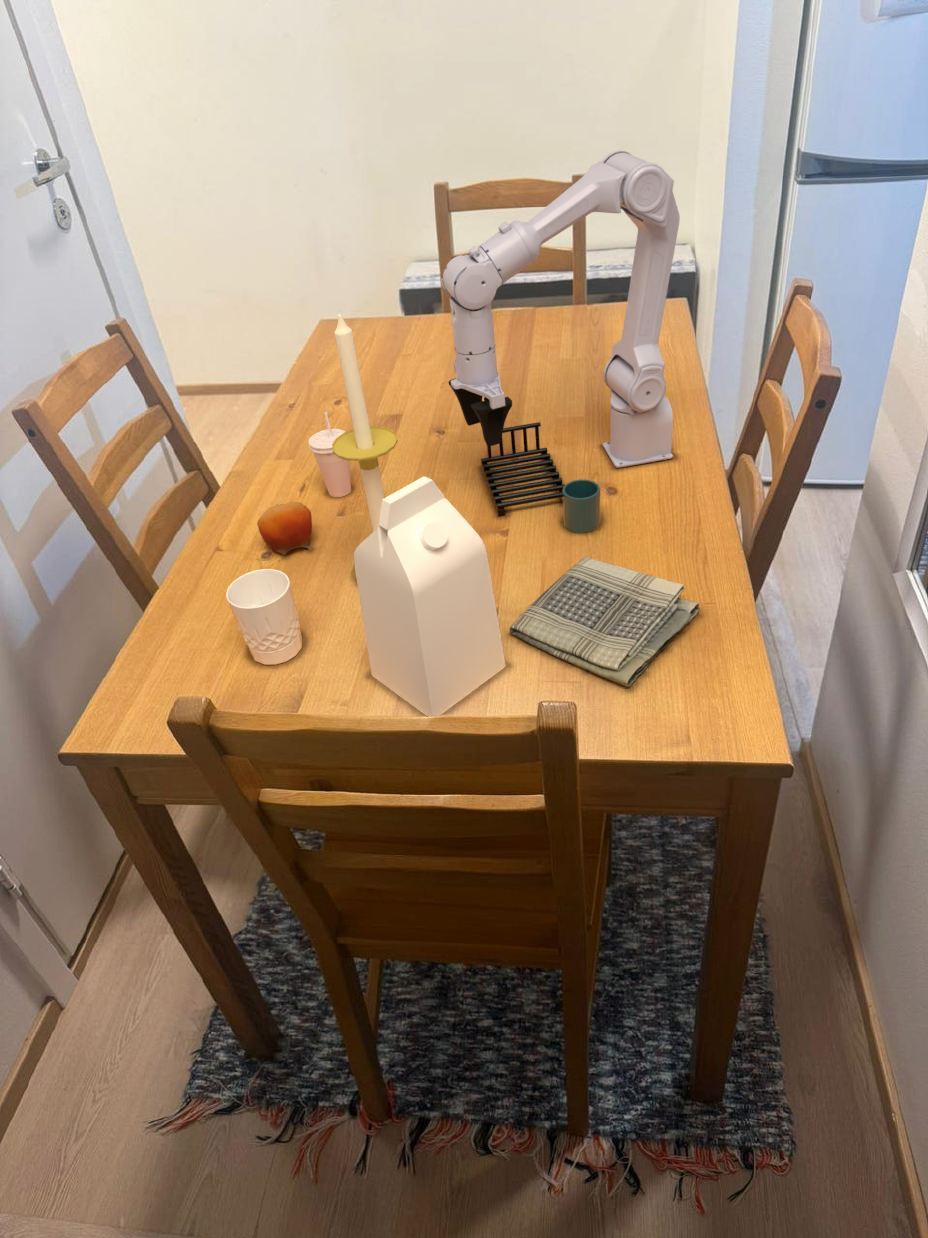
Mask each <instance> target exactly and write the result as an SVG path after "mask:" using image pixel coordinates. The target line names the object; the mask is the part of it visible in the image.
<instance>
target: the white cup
mask: <svg viewBox="0 0 928 1238" xmlns="http://www.w3.org/2000/svg"><path fill="white" fill-rule="evenodd" d="M225 597H226V600H227V603H228V605H229V607H230V609H231V612H232V614H233V617H234V619H235V622H236V624H237V627H238V629H239V631H240V634H241V635H242V638H243V640H244V642H245V644H246V645H247V647H248V650H249V652H250V655H251V657H252V658H253V659H254V662H258V664H262V665H264V666H265V665H267V666H273V665H274V666H276V665H280V664H282V663H283V664H284V663H286V662H288V661H290V660H291V659H293V658H295V657H296V656H297V655H298V654H299V652H300V651H301V650H302V648H303V637H302V632H301V629H300V627H301V625H300V621H299V616H298V610H297V606H296V602H295V598H294V594H293V590H292V584H291V580H290V578H289V576H288V575H287V574H286V573H285V572H283V571H282V570H278V569H274V568H262V569H261V568H259V569H256V570H251V571H249V572H246V573H244V574H242V575H240V576H238V577H237V578H235V580H233V581H232V582H231V583H230V584H229V585H228V587H227V589H226V593H225Z"/></svg>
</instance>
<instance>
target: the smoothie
mask: <svg viewBox="0 0 928 1238" xmlns="http://www.w3.org/2000/svg"><path fill="white" fill-rule="evenodd" d="M323 415H324V419H325V424H326V429H323V430H320V431H317V432H316V433H313V435H311V436H310V437H309V439H308V441H307V442H308V447H309V450H310V451H311V452H312V454H313V456H314V459H315V460H316V464H317V466H318V469H319V472H320V474H321V477H322V479H323V482H324V484H325V487H326V489H327V492H328V495H329V496H330V497H333V498H341V497H346V496H347V495H349V494H350V493H351V492H352V481H351V480H352V479H351V467H350V461H349V460H345V459H342V458H339V457H338V456H337V455H336V454H334V453H333V449H332V444H333V442H334V441H335V439H336V438H337V437H339V436H340V435H342V434H343V433H345V432H346V431H345V430H344V429H340V428H332V426H331V421H330V417H329V412H328V411H325V412H324V413H323Z"/></svg>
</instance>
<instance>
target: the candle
mask: <svg viewBox="0 0 928 1238" xmlns="http://www.w3.org/2000/svg"><path fill="white" fill-rule="evenodd" d="M337 311H338V314H337V325H336V329H335V330H334V332H333V334H334V339H335V344H336V348H337V354H338V359H339V364H340V369H341V373H342V378H343V384H344V388H345V393H346V399H347V403H348V408H349V412H350V418H351V423H352V429H350V430H347V431H345V433H343V434H342V435H340V436H339V437H337V438H336V439H335V441H334V442H333V444H332V449H333V453H334V454H336V455H337V456H338V457H339V458H342V459H345V460H349V462H350V461H351V462H358V465H359V470H360V474H361V475H360V476H361V479H362V484H363V488H364V494H365V495H364V496H365V498H366V504H367V509H368V515H369V518H370V524H371V529H372V533H373V532H374V531H375V530H376V529H377V528H378V527H379V520H380V512H381V504H382V499H384V498H386V497H385V492H384V486H383V481H382V475H381V470H380V465H379V459H378V458H380V457H382V456H385V455H387V454H388V453H390V452H391V451H392V450H393V449H395V447H396V446H397V444H398V436H397V433H396V432H395V431H394V430H392V429H391V428H389V427H386V426H385V427H384V426H381V425H370V419H369V415H368V408H367V403H366V397H365V393H364V388H363V383H362V382H363V381H362V377H361V371H360V366H359V361H358V355H357V350H356V345H355V340H354V336H353V335H354V333H353V329H352V328H351V327H349V325H348V324H347V323H346V321H345V319H344V317H343V314H341V312H340V309H338V310H337ZM354 576H355V580H356V581H357V578H356V571H355V570H354Z"/></svg>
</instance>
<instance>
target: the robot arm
mask: <svg viewBox="0 0 928 1238" xmlns="http://www.w3.org/2000/svg"><path fill="white" fill-rule="evenodd" d="M674 185H675V180H674V179H673V178H672V177H671V176H670V175H669V173H668V172H667V171H666V170H665V169H664V168H663V167H662V166H661V165H659V164H657V163H655V162H650V161H647V160H645V159H642V158H639V157H637V156H635V155H633V154H631V153H630V152H629V151H625V150H616V151H612V152H611V153H609V154H607V155H606V156H605V157H604V158H603V159H602V160H601V161H598V162H595V163H593V164H592V165H591V166H590V167H589V168H588V170H587V171H586V172H585V174H584V175H583V176H582V177H581V178H579V180H577V181H576V182H575V183H574V184H572V185H571V186H570V187H569V188H568V189H566V190H565V191H564V192H563V193H561V194H560V195H559V196H557V197H556V198H555V199H554V200H552V201H551V202H550V203H549V204H547V206H545V207H544V208H543V209H542V210H540V211H539V212H538V213H537V214H536V215H535V216H533V217H532V218H530V219H529V220H528V221H520V220H512V221H511V222H510V223H509V222H507V221H504V222H502V223H501V224H499V225H498V226H497V229H498V232H496V233H495V234H494V235H492V236H491V237H489V238H488V239H486V240H485V241H483V242H482V243H481V244H480V245H477V246H475V245H473V246H472V247H470V248H469V249H468V253H469V254H463V255H462V254H460V255H457V256H455V257H453V258H452V259H450V260H449V262H448V263H447V264H446V268H444V270H443V273H442V278H441V279H440V283H441V287H442V288H443V290H444V291H445V292H446V294H448V296H449V305H450V314H451V315H450V321H451V328H452V329H451V330H452V338H453V347H454V354H455V359H454V360H453V369H454V370H453V371H454V373H455V375H456V378H452V379H450V380H449V381H448V385H449V387H450V388H451V390H452V391H453V393H454V395H455V396H456V399H457V401H458V403H459V406H460V409H461V412H462V415H463V418H464V421H465V423H466V425H467V426H468V427H470V426H474V425H477V424H480V427H481V431H482V437H483V440H484V442H485V445H486V447H487V446H488V447H490V446H491V447H494V446H496V445H499V444H500V443H501V439H503V434H504V433H503V428H505V423H506V420H507V416H508V414H509V412H510V410H511V409H512V407H513V400H512V398H510V397H509V396H506V395H505V392H504V391H503V390H502V386H501V378H500V373H499V371H498V365H497V353H496V352H497V351H496V340H495V339H496V338H495V330H494V328H495V327H494V319H493V318H494V317H493V312H492V301H493V300H494V299H495V296H496V294H497V291H498V289H499V288H500V287H501V286H502V285H503V284H505V283H506V282H508V281H509V280H511V279H512V278H513V277H514V276H516V275H517V274H519V273H520V272H521V271H522V270H524V269H525V268H527V267H528V266H530V265H531V264H533V263H534V262H535V261H537V260H538V258H539V255H540V252H541V248H542V245H544V244H545V243H546V242H549V241H550V240H551V239H553V238H554V237H556V236H557V235H559V234H560V233H563V232H564V231H565V230H567V229H569V228H570V227H572V226H574V225H575V224H576V223H578V222H580V221H581V220H583V219H584V218H586V217H587V216H588V215H591V214H592V213H604V214H605V213H606V214H621V213H622V211H623V212H624V213H625V215H626V216H627V217H628V218H629V219H630V221H631V222H632V223H633V224H634V225H635V226H636V228H637V234H636V241H635V247H634V255H633V262H632V268H631V275H630V280H629V281H630V282H629V287H628V294H627V302H626V308H625V315H624V322H623V329H622V335H621V339H620V340H619V341H618V340H617V342H616V343H614V344H613V346H612V351H611V355H610V357H609V360H608V361H607V363H606V365H605V366H604V368H603V381H604V383H605V385H606V386H607V388H609V389H610V400H609V401H610V421H609V422H610V423H609V424H610V428H609V429H610V430H609V431H610V435H609V436H610V439H609V441H605V442H603V443H602V447H603V449H604V451H605V453H606V454H607V456H608V457H609V459H610V460H611V461H610V462H612V464H613V466H614V467H615V468H616V469H620V468H626V467H631V466H637V465H642V464H648V463H653V462H659V461H665V460H671V459H673V458H674V454H673V453H672V452H673V451H672V449H673V430H674V413H673V407H672V404H671V401H670V400H669V398H668V397H667V396H665V395H666V391H667V384H666V380H665V368H666V367H665V366H666V365H665V361H664V357H663V355H662V353H661V350H660V347H659V341H660V334H661V330H662V329H661V328H662V323H663V317H664V312H665V306H666V300H667V296H668V290H669V284H670V278H671V272H672V267H673V261H674V255H675V251H676V245H677V238H678V233H679V225H680V218H681V217H680V212H679V208H678V205H677V201H676V197H675V194H674V191H673V189H674Z"/></svg>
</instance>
